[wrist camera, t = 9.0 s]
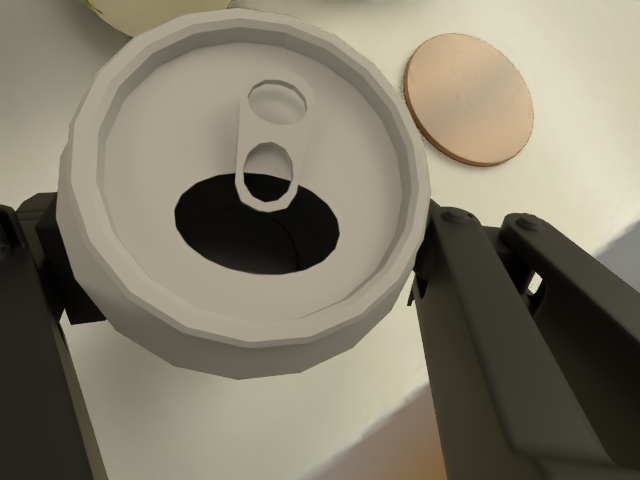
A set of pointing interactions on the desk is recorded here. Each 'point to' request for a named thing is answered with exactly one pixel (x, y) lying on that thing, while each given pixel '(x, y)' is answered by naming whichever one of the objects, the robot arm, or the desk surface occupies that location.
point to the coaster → (468, 99)
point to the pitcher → (148, 12)
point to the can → (242, 193)
